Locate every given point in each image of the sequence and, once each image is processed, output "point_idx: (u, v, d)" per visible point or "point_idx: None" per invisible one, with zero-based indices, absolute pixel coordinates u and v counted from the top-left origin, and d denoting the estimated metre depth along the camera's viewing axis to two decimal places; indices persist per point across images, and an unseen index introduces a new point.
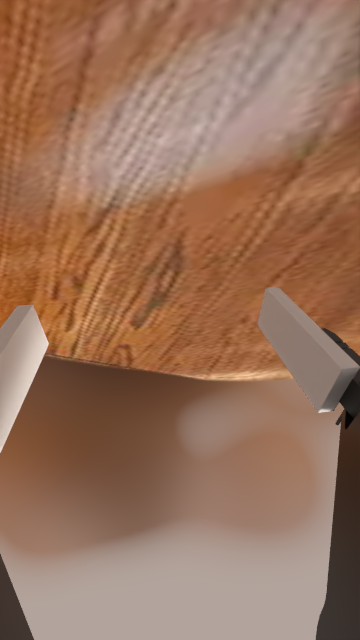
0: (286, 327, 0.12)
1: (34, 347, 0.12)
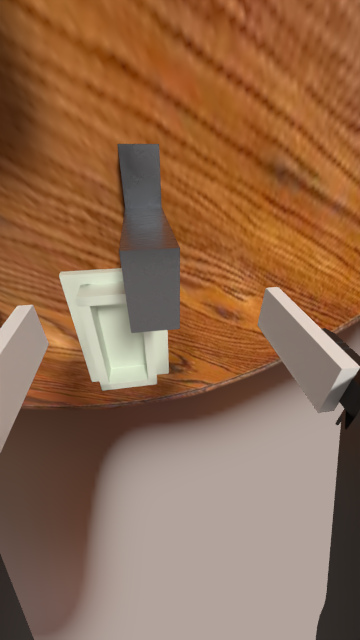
0: (286, 327, 0.12)
1: (34, 347, 0.12)
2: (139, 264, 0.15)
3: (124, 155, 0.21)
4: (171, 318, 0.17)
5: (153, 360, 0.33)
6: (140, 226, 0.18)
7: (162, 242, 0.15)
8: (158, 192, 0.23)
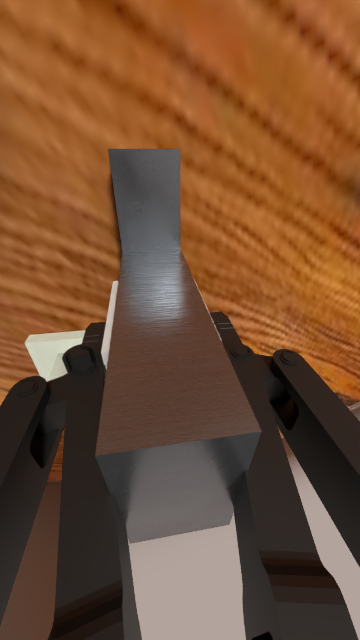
0: None
1: None
2: (151, 468, 0.06)
3: (121, 168, 0.12)
4: (214, 517, 0.08)
5: None
6: (149, 313, 0.09)
7: (209, 392, 0.06)
8: (175, 227, 0.14)
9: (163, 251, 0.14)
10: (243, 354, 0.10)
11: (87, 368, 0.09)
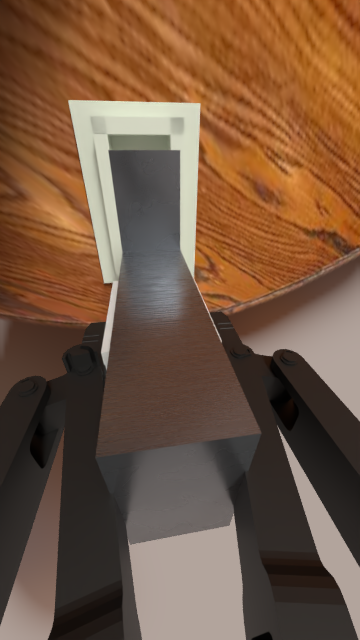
0: None
1: None
2: (151, 470, 0.06)
3: (121, 169, 0.12)
4: (214, 518, 0.08)
5: (180, 239, 0.27)
6: (149, 314, 0.09)
7: (209, 394, 0.06)
8: (175, 228, 0.14)
9: (163, 252, 0.14)
10: (243, 354, 0.10)
11: (87, 368, 0.09)
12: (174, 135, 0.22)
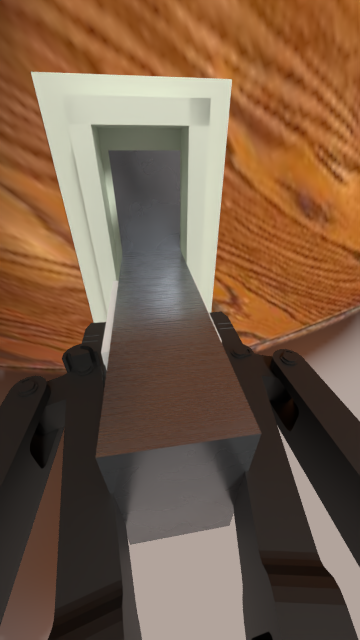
0: None
1: None
2: (151, 470, 0.06)
3: (121, 169, 0.12)
4: (214, 518, 0.08)
5: (198, 273, 0.20)
6: (149, 314, 0.09)
7: (209, 394, 0.06)
8: (176, 228, 0.14)
9: (163, 252, 0.14)
10: (243, 354, 0.10)
11: (87, 368, 0.09)
12: (195, 126, 0.14)
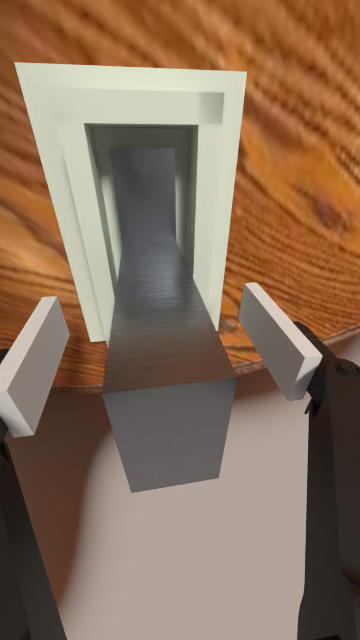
0: (261, 320, 0.13)
1: (59, 336, 0.13)
2: (147, 410, 0.07)
3: (120, 165, 0.13)
4: (204, 468, 0.09)
5: (205, 290, 0.18)
6: (146, 293, 0.10)
7: (196, 351, 0.07)
8: (171, 220, 0.15)
9: (160, 242, 0.16)
10: (351, 371, 0.09)
11: None
12: (205, 126, 0.12)
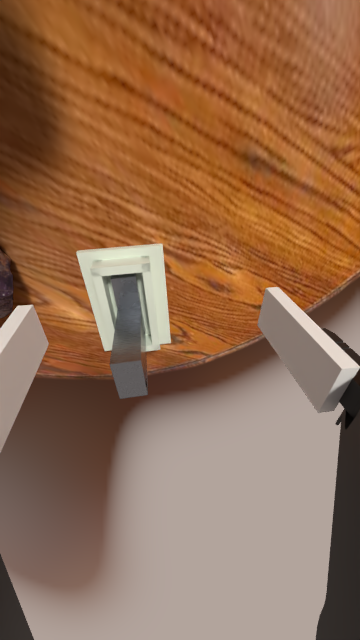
0: (286, 327, 0.12)
1: (34, 347, 0.12)
2: (120, 368, 0.28)
3: (115, 283, 0.35)
4: (141, 390, 0.30)
5: (155, 326, 0.39)
6: (123, 336, 0.32)
7: (133, 354, 0.28)
8: (137, 299, 0.37)
9: (133, 308, 0.37)
10: None
11: None
12: (144, 272, 0.33)
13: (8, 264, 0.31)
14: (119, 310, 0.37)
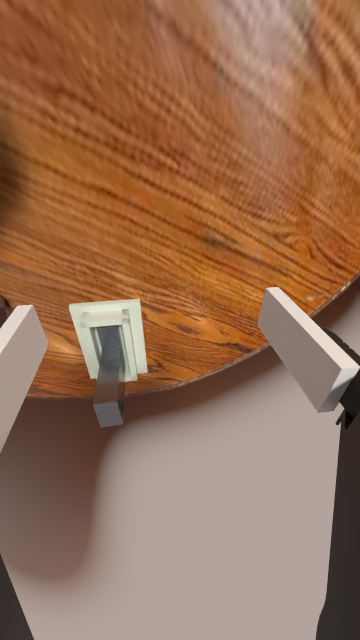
0: (286, 327, 0.12)
1: (34, 347, 0.12)
2: (101, 407, 0.36)
3: (100, 331, 0.43)
4: (118, 421, 0.39)
5: (133, 363, 0.47)
6: (105, 377, 0.40)
7: (111, 395, 0.37)
8: (118, 342, 0.45)
9: (115, 349, 0.45)
10: None
11: None
12: (124, 324, 0.42)
13: None
14: (103, 350, 0.45)
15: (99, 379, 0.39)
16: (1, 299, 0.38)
